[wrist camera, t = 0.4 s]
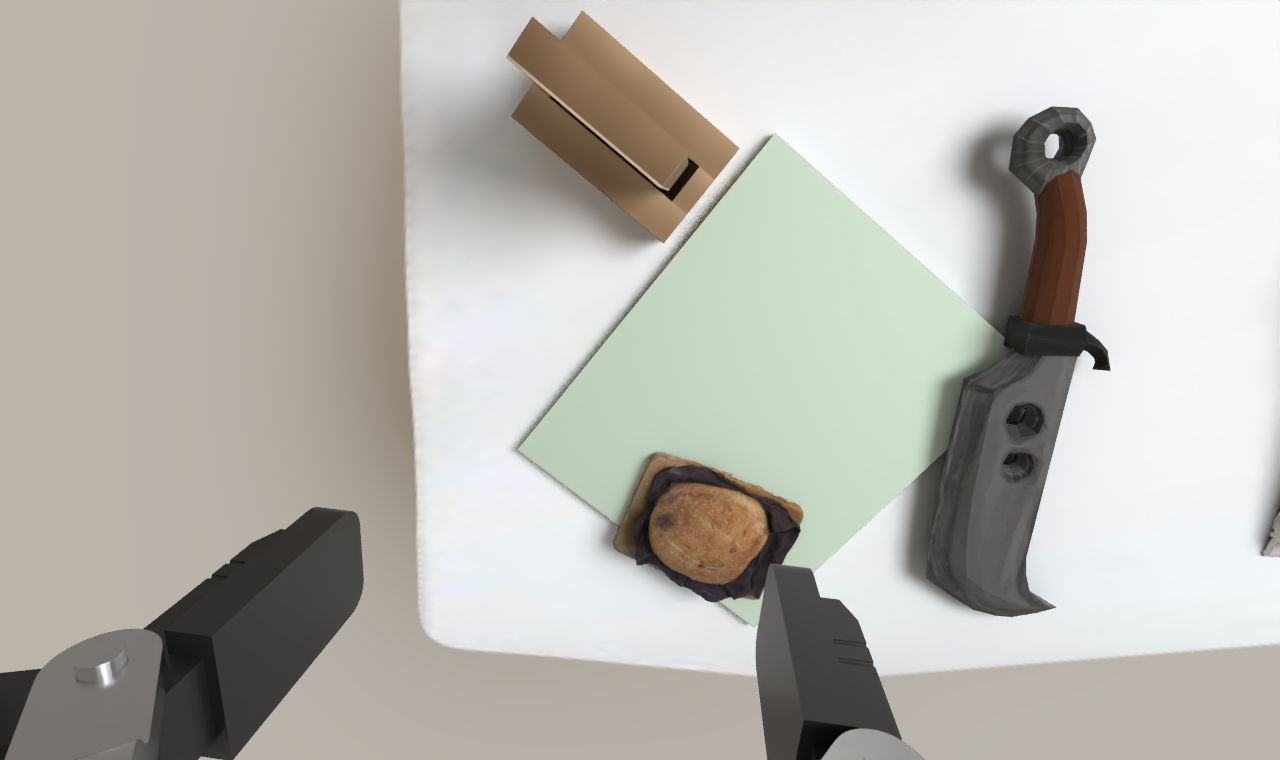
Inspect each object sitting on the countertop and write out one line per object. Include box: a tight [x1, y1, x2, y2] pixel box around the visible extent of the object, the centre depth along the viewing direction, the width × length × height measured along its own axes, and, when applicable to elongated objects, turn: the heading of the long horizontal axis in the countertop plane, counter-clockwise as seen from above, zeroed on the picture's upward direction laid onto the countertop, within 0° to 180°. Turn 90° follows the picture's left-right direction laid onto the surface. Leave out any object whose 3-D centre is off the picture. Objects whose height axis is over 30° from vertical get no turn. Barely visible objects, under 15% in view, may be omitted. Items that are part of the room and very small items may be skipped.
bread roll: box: [613, 452, 804, 602], centre depth 38 cm, size 11×8×4 cm
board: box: [506, 17, 688, 191], centre depth 27 cm, size 2×7×12 cm, turn 51°
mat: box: [518, 133, 1011, 627], centre depth 37 cm, size 24×20×1 cm
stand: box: [512, 11, 740, 243], centre depth 32 cm, size 6×10×3 cm, turn 51°
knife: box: [927, 107, 1110, 617], centre depth 34 cm, size 9×2×30 cm
